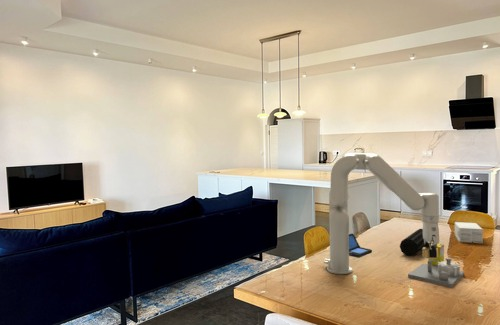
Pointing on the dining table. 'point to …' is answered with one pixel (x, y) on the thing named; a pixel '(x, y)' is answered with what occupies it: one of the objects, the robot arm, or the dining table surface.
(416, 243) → the roller
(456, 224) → the supplement box
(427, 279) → the gear board
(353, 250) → the handheld game console
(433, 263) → the supplement box
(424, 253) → the brass gear
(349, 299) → the dining table surface
